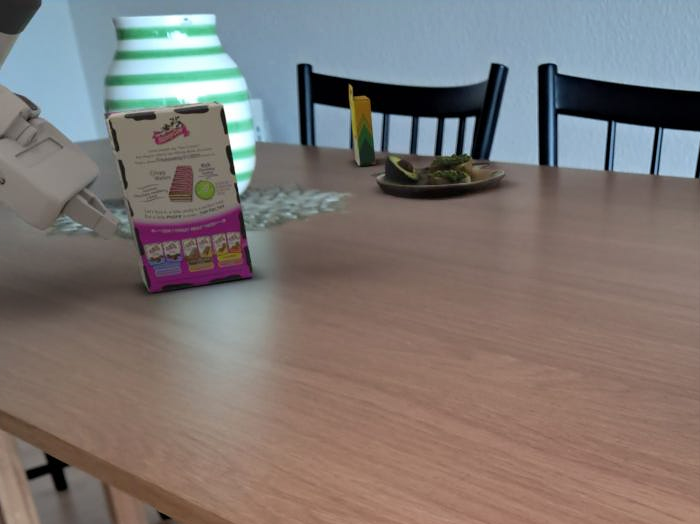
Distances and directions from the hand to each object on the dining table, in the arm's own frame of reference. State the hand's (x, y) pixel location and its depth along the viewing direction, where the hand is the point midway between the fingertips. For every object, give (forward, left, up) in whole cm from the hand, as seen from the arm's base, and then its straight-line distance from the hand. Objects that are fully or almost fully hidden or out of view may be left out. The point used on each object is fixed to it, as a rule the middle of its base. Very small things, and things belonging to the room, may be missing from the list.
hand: (115, 232), depth 104 cm
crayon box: (+26, +75, -6) cm, 79 cm away
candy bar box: (+7, 0, -6) cm, 9 cm away
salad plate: (+36, +46, -6) cm, 59 cm away
